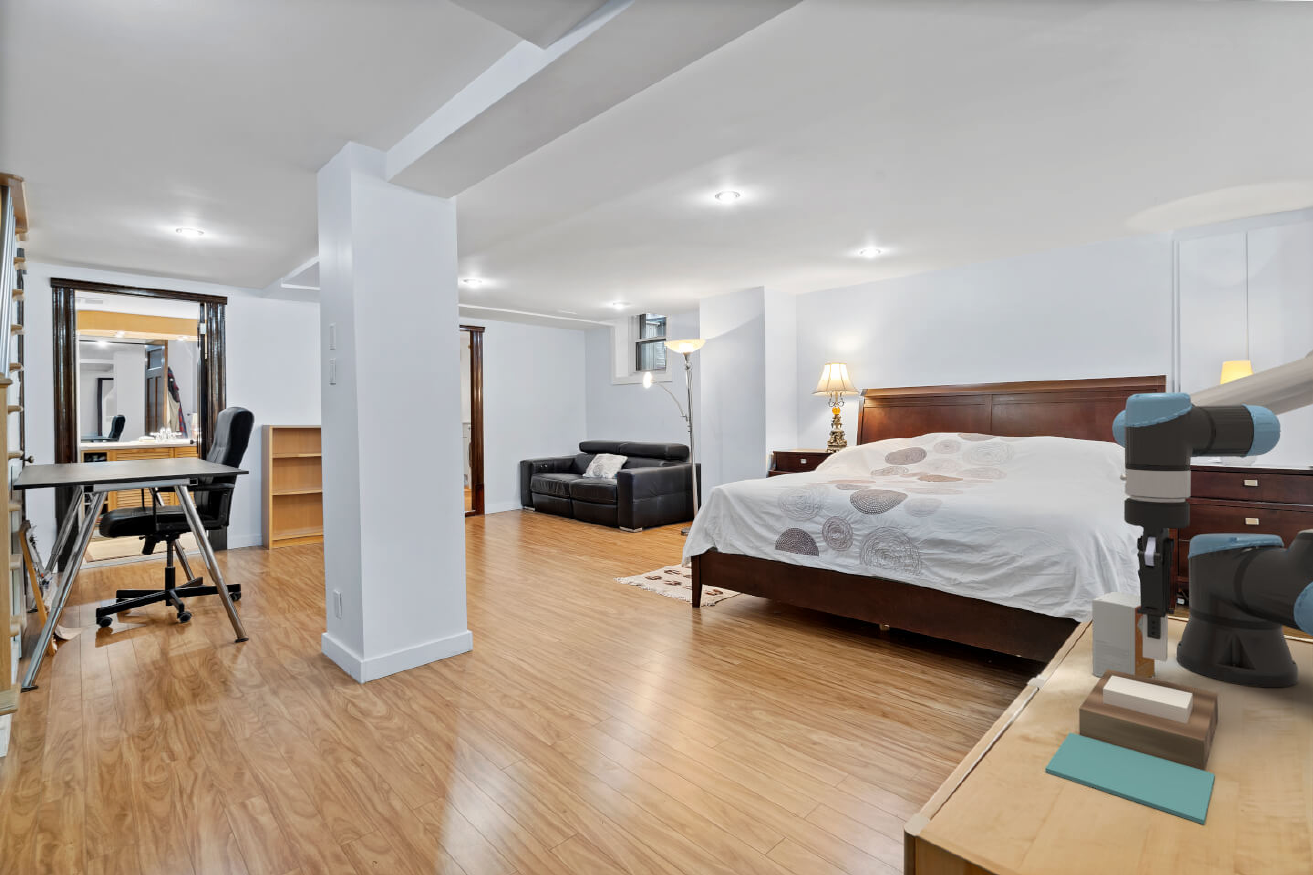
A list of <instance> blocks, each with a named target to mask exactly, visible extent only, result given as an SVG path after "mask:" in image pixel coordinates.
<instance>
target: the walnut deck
mask: <svg viewBox="0 0 1313 875" xmlns="http://www.w3.org/2000/svg"><path fill="white" fill-rule="evenodd" d="M1111 676H1117V677H1121V678H1126V679H1130V680H1135V681H1139V682H1144V683H1148V684H1153V685H1157V686H1162V687H1166V688H1171V689H1175V690H1180V691H1184V692H1189V693H1193V708H1192V711H1191V714H1190V717H1189V720H1188V722H1187V724H1186V723H1182V722H1178V721H1174V720H1170V719H1166V718H1162V717H1158V716H1154V715H1150V714H1146V713H1142V712H1138V711H1134V710H1130V709H1126V708H1122V707H1118V706H1114V705H1110V704H1106V703H1103V688H1104V686H1105V685H1106V683H1107V682H1108V681H1109V679H1110V678H1111ZM1218 695H1219V694H1218V692H1215V691H1210V690H1206V689H1201V688H1197V687H1191V686H1188V685H1183V684H1177V683H1173V682H1169V681H1164V680H1161V679H1155V678H1152V677H1150V678H1147V677H1142V676H1137V675H1133V674H1128V673H1124V672H1119V671H1114V670H1110V669H1107V670H1106V671H1105V673H1104V674H1103V676H1102V677H1100V678H1099V679H1098V681H1097V682H1096V683H1095V686H1094V687H1093V688H1092V690H1091V691H1090V693H1088V696H1086V698H1085V699H1084V701H1083V702H1082V704H1081V705H1080V706H1079V709H1078V711H1079V712H1078V713H1079V714H1078V716H1079V717H1078V721H1079V722H1078V724H1079V727H1078V728H1079V734H1078V735H1081V736H1085V737H1088V738H1092V739H1095V740H1099V741H1102V742H1105V743H1109V744H1112V745H1116V746H1119V747H1123V748H1126V749H1130V750H1133V751H1137V752H1140V753H1144V754H1147V755H1151V756H1154V757H1158V758H1161V759H1165V760H1168V761H1172V762H1175V763H1179V764H1182V765H1186V766H1189V767H1193V768H1196V769H1200V770H1203V771H1206V768H1207V764H1208V761H1209V757H1210V753H1211V749H1212V745H1213V740H1214V737H1215V734H1216V729H1217V725H1218V722H1219V721H1218V719H1219V714H1218V713H1219V709H1218V706H1219V703H1218V700H1219V698H1218Z"/></svg>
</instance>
